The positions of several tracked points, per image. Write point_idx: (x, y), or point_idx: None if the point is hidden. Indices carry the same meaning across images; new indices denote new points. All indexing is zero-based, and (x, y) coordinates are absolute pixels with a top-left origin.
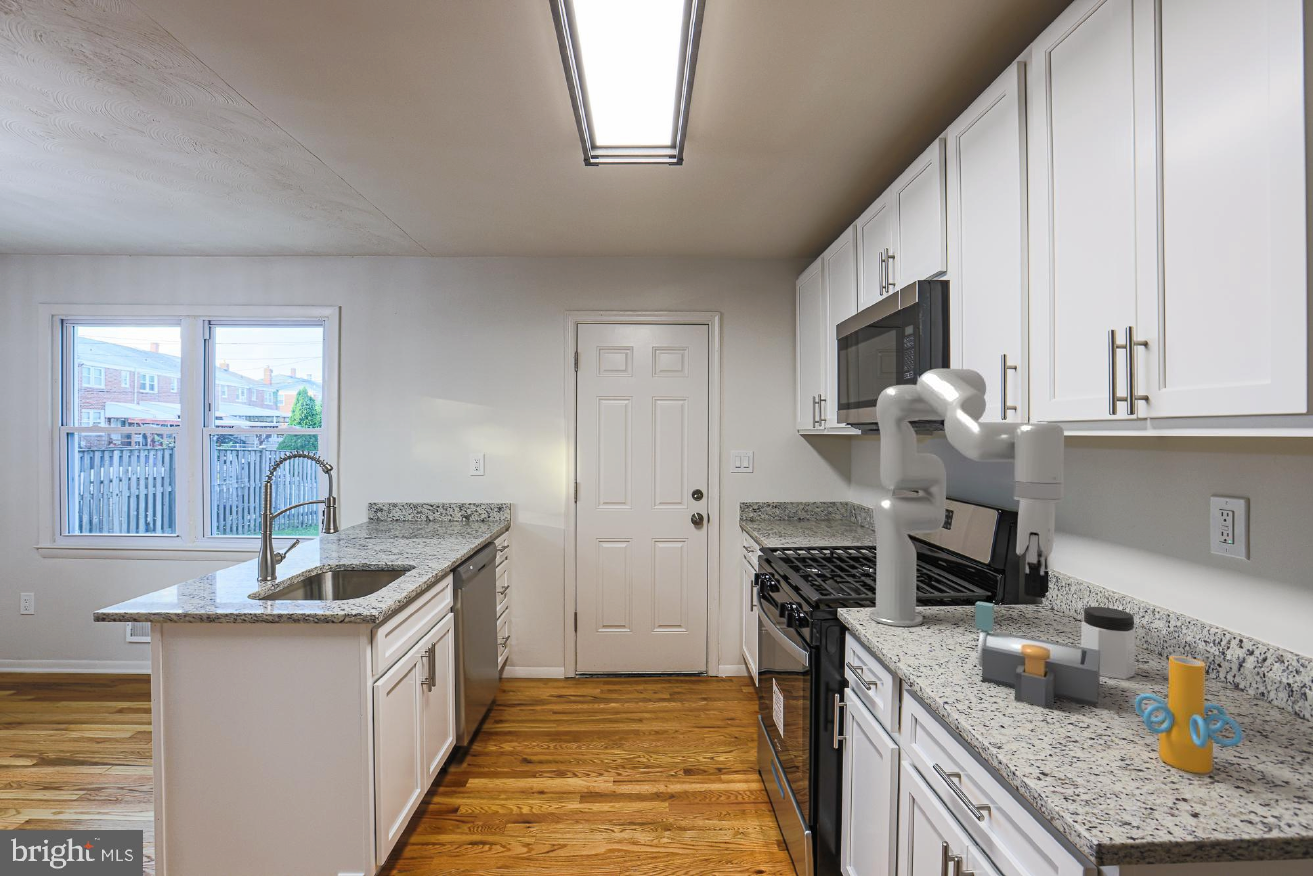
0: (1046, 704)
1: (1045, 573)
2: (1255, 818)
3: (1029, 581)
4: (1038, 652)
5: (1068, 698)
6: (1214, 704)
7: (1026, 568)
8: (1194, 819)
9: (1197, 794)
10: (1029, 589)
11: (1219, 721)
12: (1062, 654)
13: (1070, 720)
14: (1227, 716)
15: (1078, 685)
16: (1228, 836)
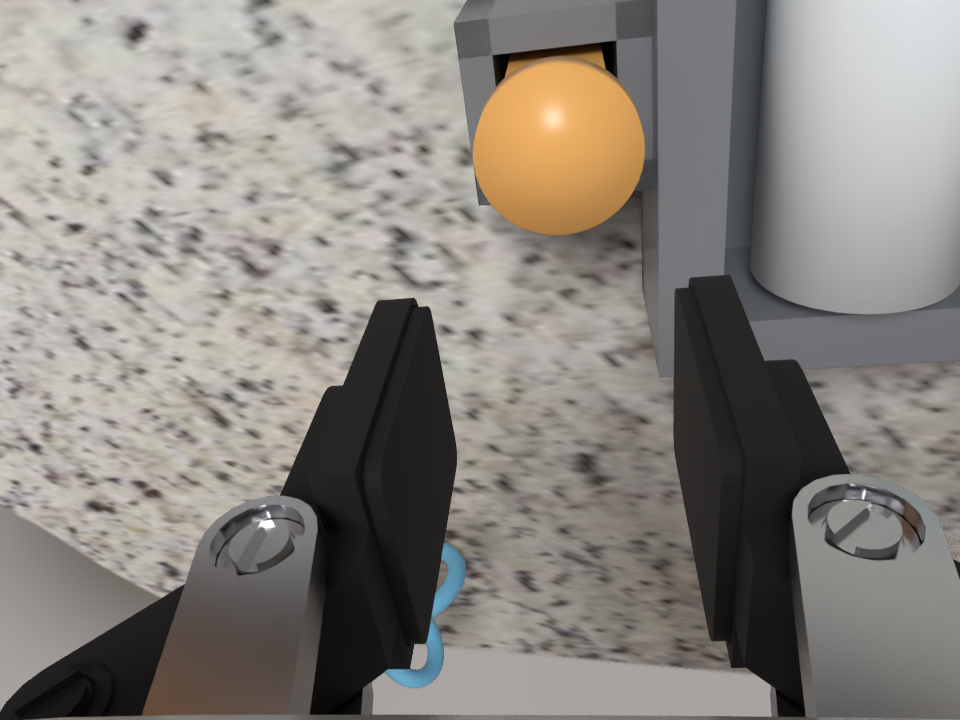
0: None
1: (707, 615)
2: None
3: (299, 460)
4: (486, 187)
5: (642, 198)
6: (403, 684)
7: (189, 582)
8: (77, 506)
9: (207, 512)
10: (327, 394)
11: (429, 644)
12: (812, 224)
13: (431, 231)
14: None
15: (649, 265)
16: (70, 545)
